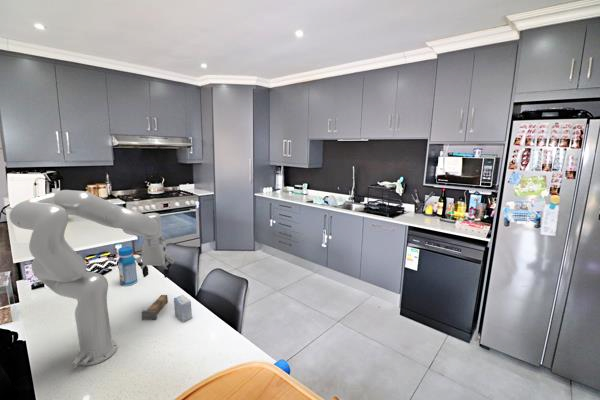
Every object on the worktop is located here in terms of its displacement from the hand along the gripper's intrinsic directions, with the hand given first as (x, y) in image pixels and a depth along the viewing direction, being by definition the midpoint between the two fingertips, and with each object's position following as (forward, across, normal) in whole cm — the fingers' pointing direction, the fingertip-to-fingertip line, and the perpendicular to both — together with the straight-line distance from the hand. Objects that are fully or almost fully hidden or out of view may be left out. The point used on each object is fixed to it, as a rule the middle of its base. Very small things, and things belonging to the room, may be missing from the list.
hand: (156, 276), depth 133 cm
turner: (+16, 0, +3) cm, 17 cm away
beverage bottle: (+17, +29, -24) cm, 41 cm away
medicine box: (+17, -14, +6) cm, 23 cm away
